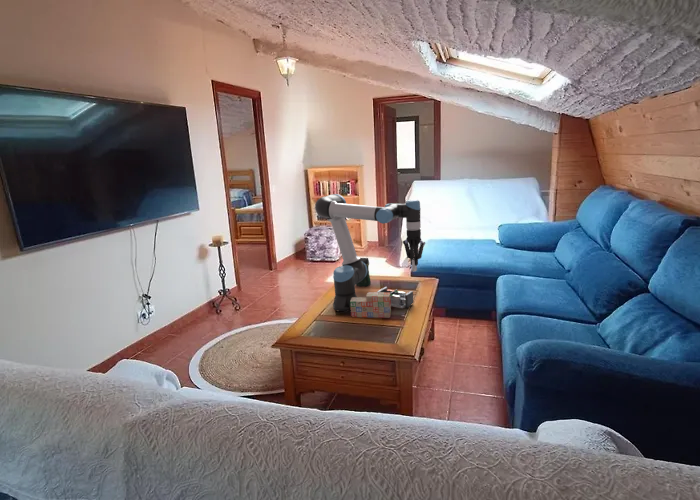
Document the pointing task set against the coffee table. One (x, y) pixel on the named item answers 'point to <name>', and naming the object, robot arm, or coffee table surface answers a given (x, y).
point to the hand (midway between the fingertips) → (414, 270)
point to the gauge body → (395, 297)
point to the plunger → (405, 298)
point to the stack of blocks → (371, 305)
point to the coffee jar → (366, 280)
